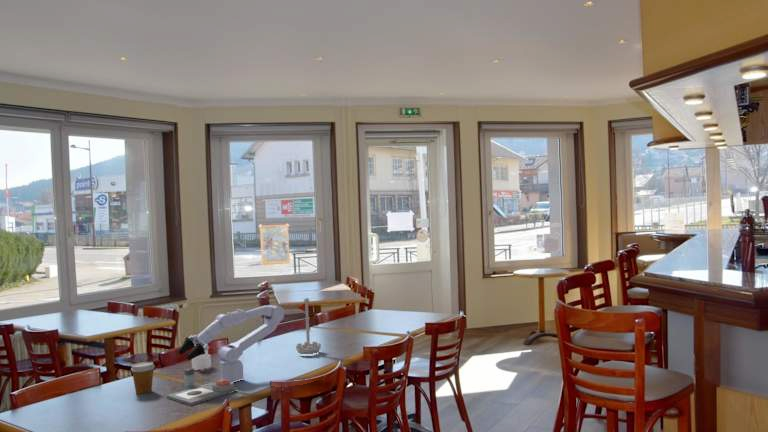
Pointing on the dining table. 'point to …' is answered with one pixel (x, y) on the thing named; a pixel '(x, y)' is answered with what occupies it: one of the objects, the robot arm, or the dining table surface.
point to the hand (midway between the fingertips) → (183, 356)
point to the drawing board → (201, 393)
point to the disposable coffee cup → (143, 377)
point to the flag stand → (307, 347)
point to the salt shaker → (189, 378)
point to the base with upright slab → (201, 361)
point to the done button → (222, 382)
